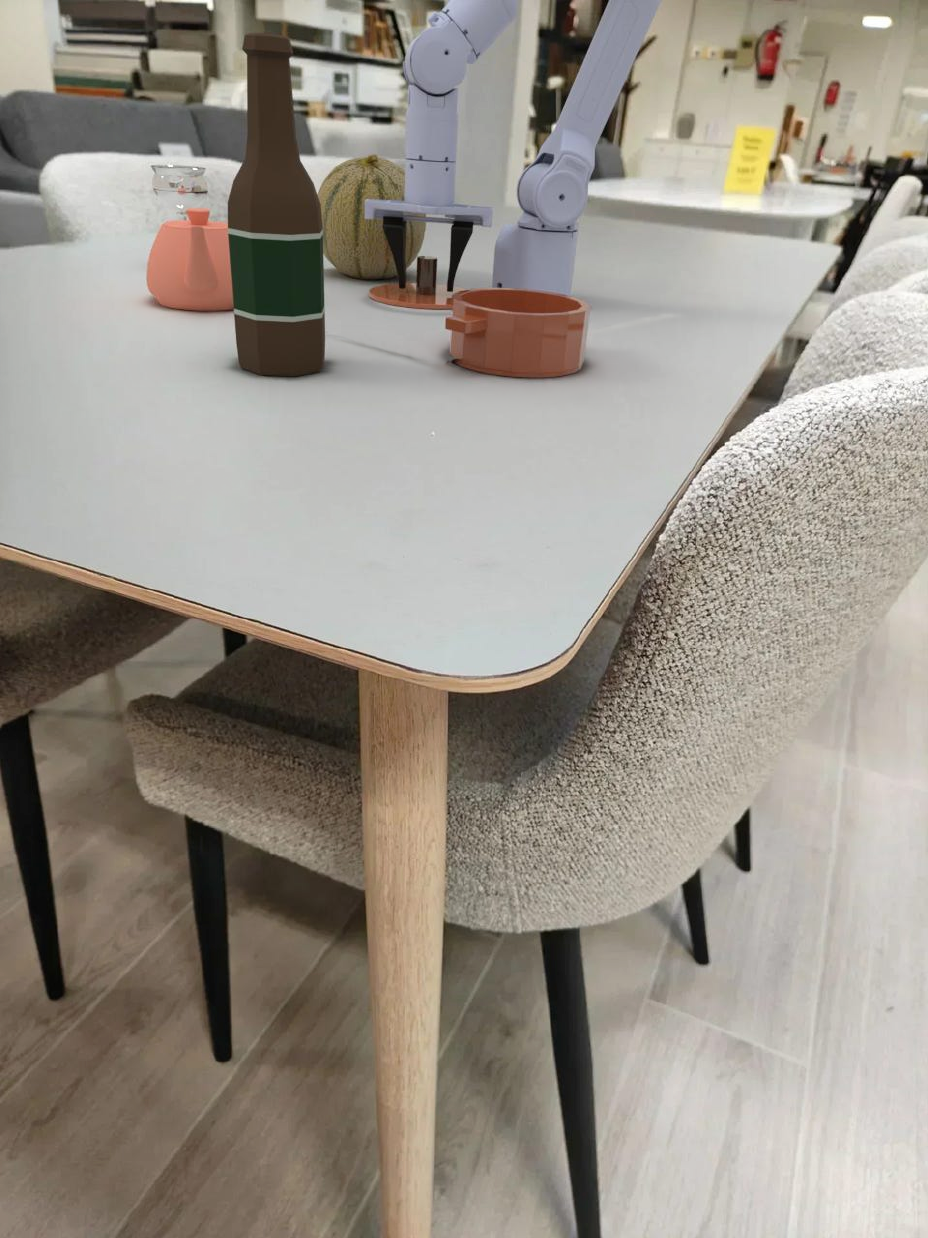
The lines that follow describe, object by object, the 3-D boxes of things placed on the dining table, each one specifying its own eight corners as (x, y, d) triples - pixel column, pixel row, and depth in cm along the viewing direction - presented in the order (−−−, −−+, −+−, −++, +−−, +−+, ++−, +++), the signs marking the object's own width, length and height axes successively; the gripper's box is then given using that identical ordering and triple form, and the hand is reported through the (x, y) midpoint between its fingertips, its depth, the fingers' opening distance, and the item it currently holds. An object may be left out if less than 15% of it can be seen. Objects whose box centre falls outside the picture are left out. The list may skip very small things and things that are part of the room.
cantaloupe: (394, 269, 124) (396, 150, 116) (444, 287, 113) (450, 159, 105) (297, 271, 117) (292, 146, 109) (340, 292, 106) (338, 154, 99)
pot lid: (345, 298, 103) (344, 252, 100) (423, 288, 112) (424, 246, 109) (428, 319, 95) (430, 270, 93) (504, 306, 104) (508, 261, 102)
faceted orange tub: (401, 360, 79) (403, 298, 76) (521, 335, 91) (526, 281, 88) (508, 391, 72) (514, 324, 69) (622, 359, 84) (631, 302, 82)
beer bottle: (343, 362, 77) (339, 41, 65) (301, 382, 71) (288, 30, 59) (266, 350, 79) (248, 37, 67) (219, 369, 73) (190, 26, 61)
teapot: (259, 289, 105) (254, 202, 100) (263, 321, 90) (257, 221, 85) (155, 286, 102) (144, 198, 97) (140, 319, 87) (127, 216, 82)
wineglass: (151, 270, 111) (139, 166, 105) (175, 263, 117) (165, 163, 111) (201, 274, 111) (192, 170, 105) (222, 267, 117) (215, 167, 110)
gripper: (361, 157, 92) (361, 290, 99) (495, 166, 92) (486, 298, 99) (368, 154, 98) (368, 280, 105) (495, 163, 98) (486, 288, 105)
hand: (426, 288), depth 103 cm, fingers open, 5 cm apart
